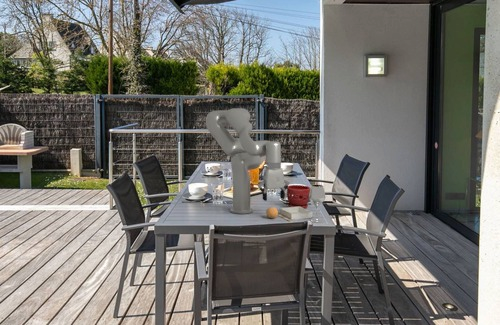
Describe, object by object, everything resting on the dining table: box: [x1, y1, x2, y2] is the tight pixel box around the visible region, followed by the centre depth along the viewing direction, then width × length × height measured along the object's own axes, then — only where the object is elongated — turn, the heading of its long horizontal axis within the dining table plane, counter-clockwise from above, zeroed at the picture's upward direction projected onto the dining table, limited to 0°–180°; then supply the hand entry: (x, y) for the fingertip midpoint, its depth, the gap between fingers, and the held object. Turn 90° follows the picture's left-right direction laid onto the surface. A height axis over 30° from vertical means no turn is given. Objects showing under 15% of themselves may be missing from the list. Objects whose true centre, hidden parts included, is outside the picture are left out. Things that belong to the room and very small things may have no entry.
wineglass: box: [309, 184, 326, 223], centre depth 245 cm, size 8×8×18 cm
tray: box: [278, 206, 313, 221], centre depth 257 cm, size 14×12×3 cm
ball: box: [265, 206, 279, 220], centre depth 250 cm, size 6×6×6 cm
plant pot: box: [286, 184, 311, 209], centre depth 275 cm, size 13×13×12 cm
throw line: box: [277, 213, 294, 223], centre depth 253 cm, size 20×2×1 cm, turn 22°
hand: (273, 199), depth 249 cm, fingers open, 9 cm apart
